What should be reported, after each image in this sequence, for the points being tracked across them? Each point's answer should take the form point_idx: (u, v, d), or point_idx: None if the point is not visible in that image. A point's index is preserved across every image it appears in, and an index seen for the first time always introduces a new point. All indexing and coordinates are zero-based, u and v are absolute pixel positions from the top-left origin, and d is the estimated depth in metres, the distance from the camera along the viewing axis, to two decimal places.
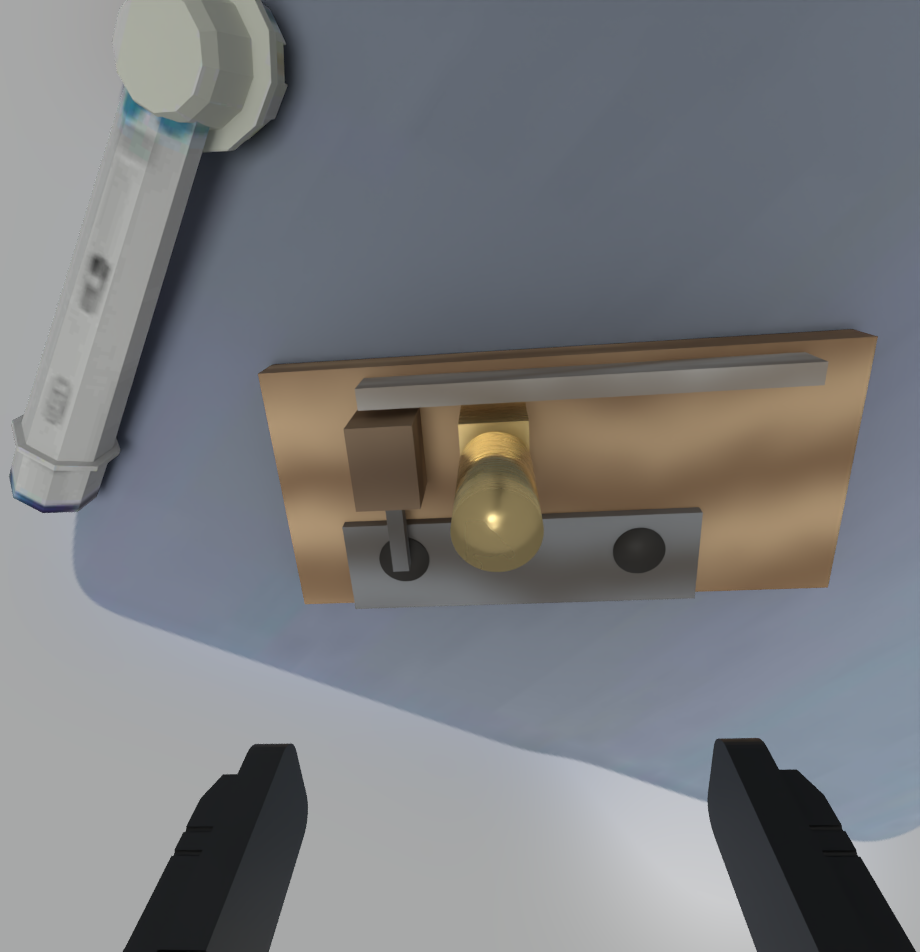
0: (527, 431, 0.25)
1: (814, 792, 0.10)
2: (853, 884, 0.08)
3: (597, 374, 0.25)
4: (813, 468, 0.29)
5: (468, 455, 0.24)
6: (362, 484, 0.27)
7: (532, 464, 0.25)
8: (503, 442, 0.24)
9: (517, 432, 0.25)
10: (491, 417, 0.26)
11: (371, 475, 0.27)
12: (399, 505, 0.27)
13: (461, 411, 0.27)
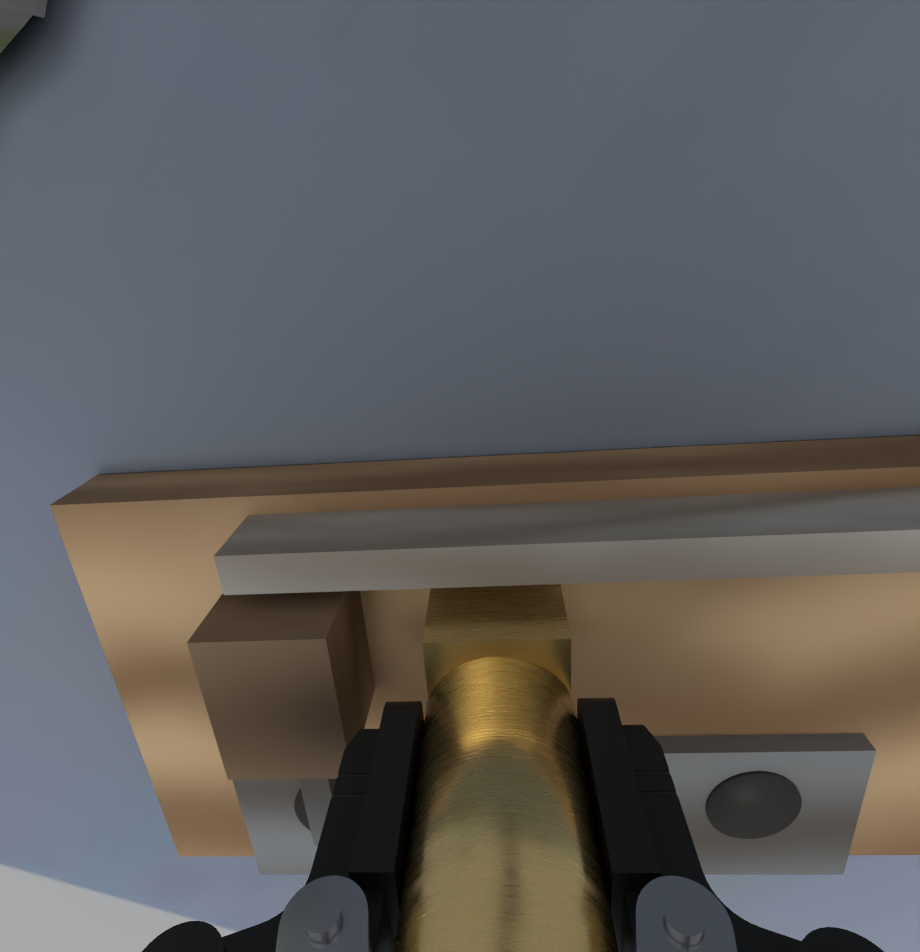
0: (567, 658, 0.12)
1: (653, 743, 0.11)
2: (664, 817, 0.10)
3: (710, 535, 0.12)
4: None
5: (441, 736, 0.11)
6: (235, 736, 0.14)
7: None
8: (518, 702, 0.11)
9: (546, 659, 0.12)
10: (491, 618, 0.13)
11: (250, 722, 0.13)
12: (310, 771, 0.14)
13: (433, 589, 0.14)
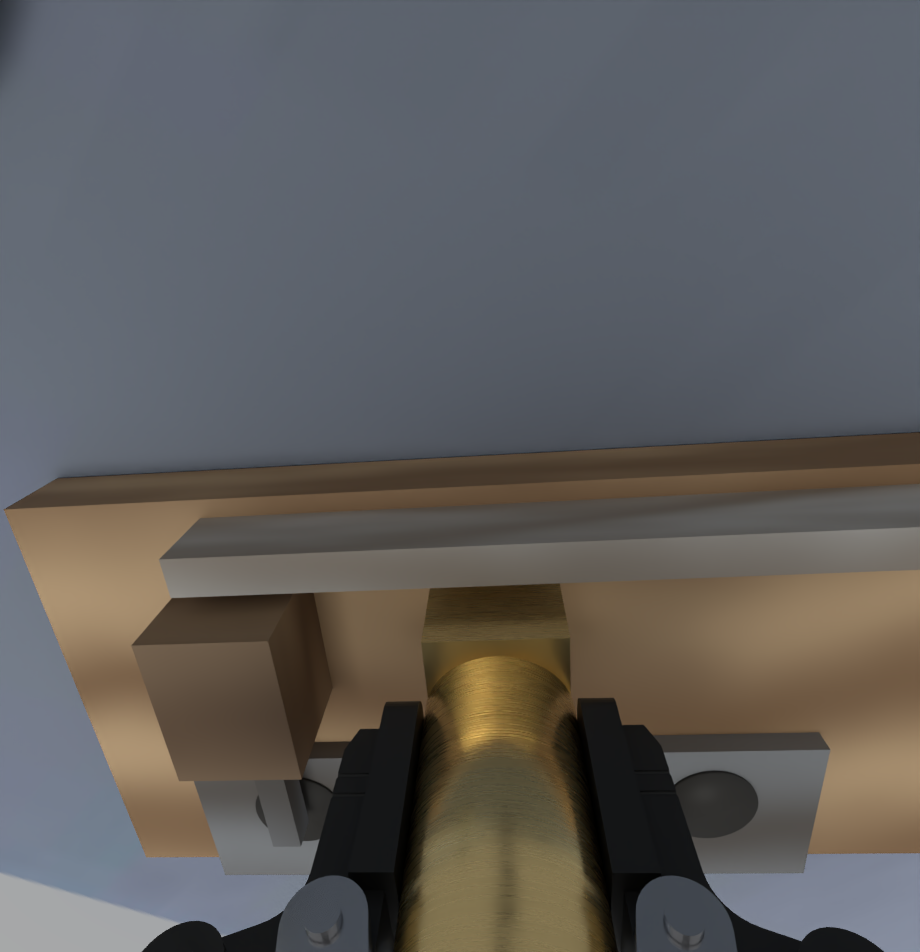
0: (567, 657, 0.12)
1: (653, 743, 0.11)
2: (664, 817, 0.10)
3: (648, 536, 0.12)
4: None
5: (440, 736, 0.11)
6: (184, 738, 0.14)
7: (578, 731, 0.12)
8: (517, 702, 0.11)
9: (546, 658, 0.12)
10: (490, 618, 0.13)
11: (199, 724, 0.13)
12: (260, 773, 0.14)
13: (432, 589, 0.14)
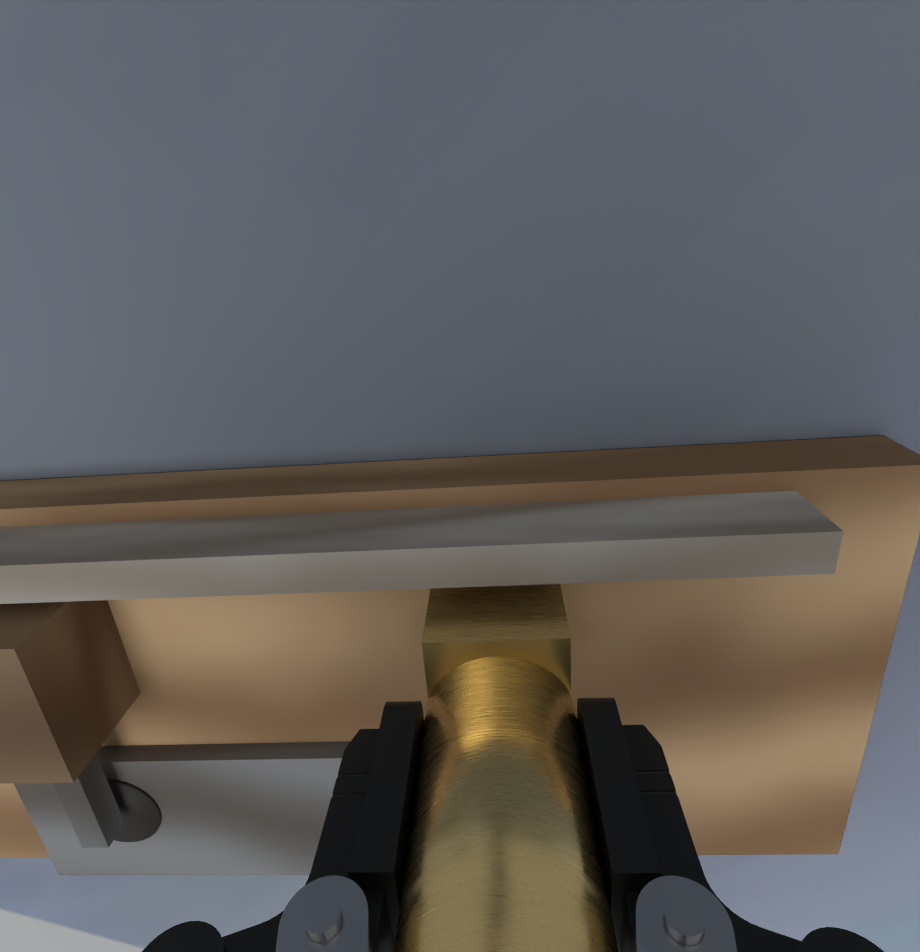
0: (567, 657, 0.12)
1: (653, 743, 0.11)
2: (665, 817, 0.10)
3: (380, 547, 0.13)
4: (812, 682, 0.16)
5: (440, 736, 0.11)
6: None
7: None
8: (518, 702, 0.11)
9: (546, 659, 0.12)
10: (491, 618, 0.13)
11: None
12: (33, 776, 0.14)
13: (433, 589, 0.14)
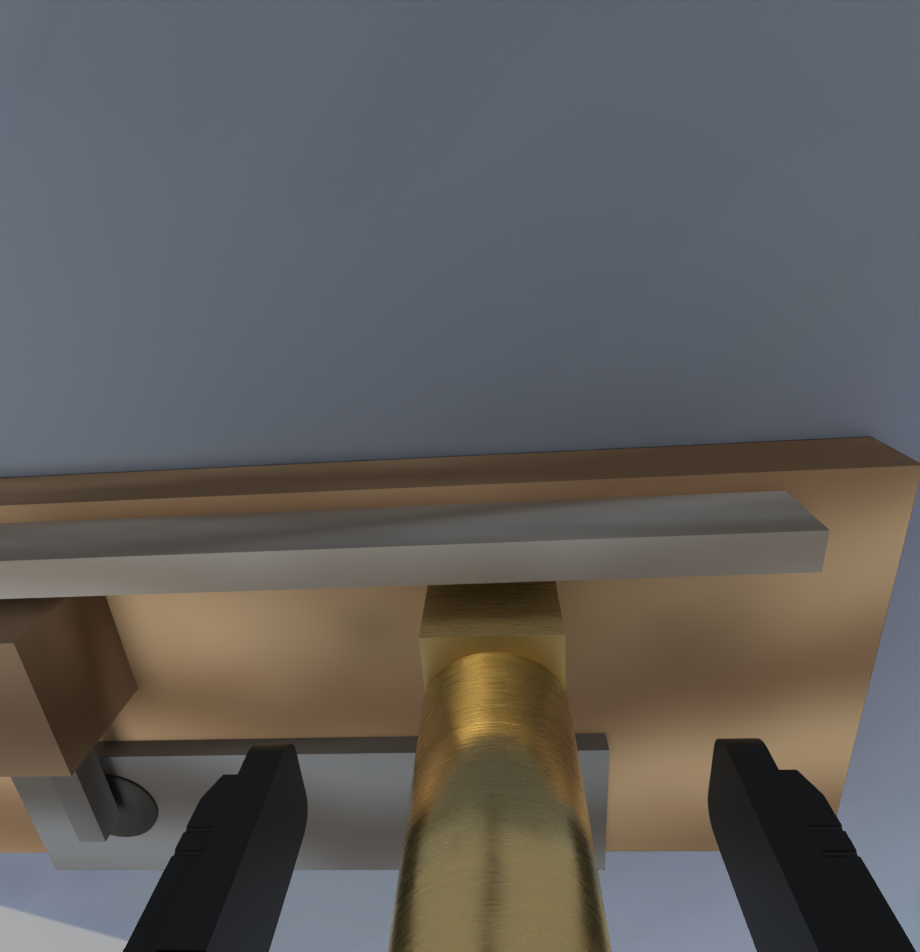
0: (562, 653, 0.12)
1: (814, 792, 0.10)
2: (852, 883, 0.08)
3: (376, 545, 0.13)
4: (801, 680, 0.16)
5: (437, 729, 0.11)
6: None
7: (573, 726, 0.12)
8: (513, 696, 0.11)
9: (541, 654, 0.12)
10: (487, 614, 0.13)
11: None
12: (31, 769, 0.15)
13: (430, 586, 0.14)
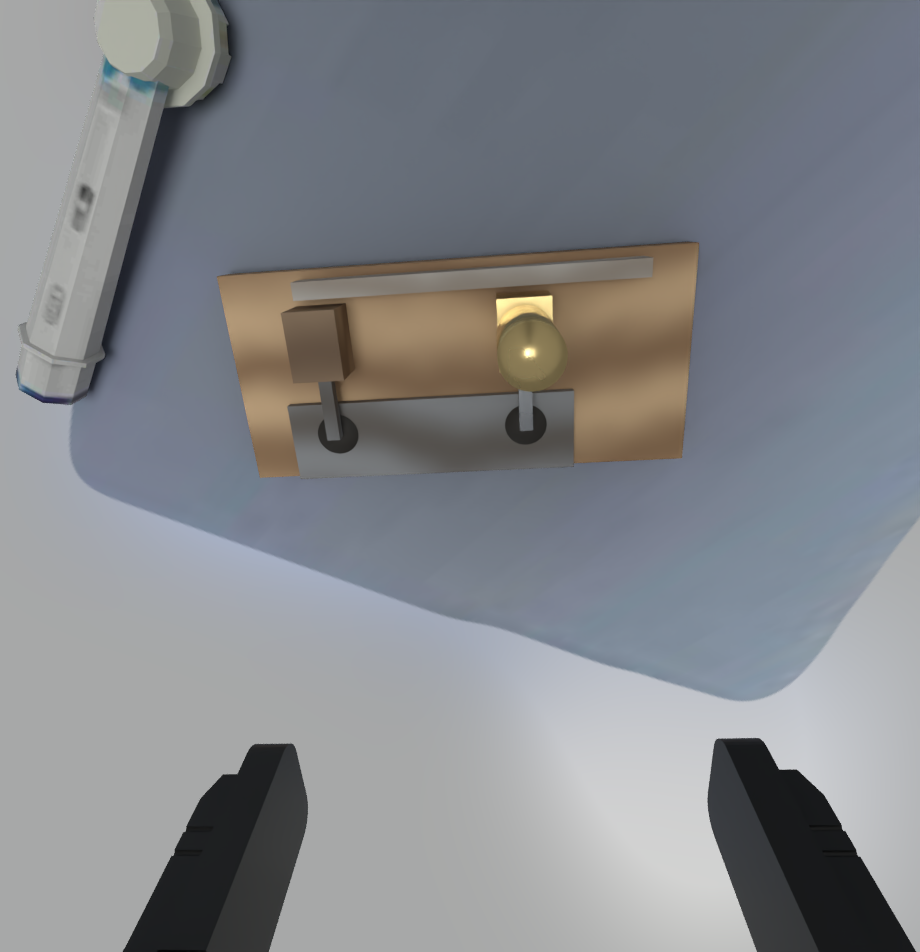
0: (551, 304, 0.32)
1: (814, 792, 0.10)
2: (852, 884, 0.08)
3: (477, 269, 0.33)
4: (660, 354, 0.36)
5: (506, 318, 0.31)
6: (297, 359, 0.34)
7: None
8: (533, 308, 0.31)
9: (543, 305, 0.32)
10: (521, 296, 0.33)
11: (303, 352, 0.34)
12: (327, 377, 0.34)
13: (497, 295, 0.34)
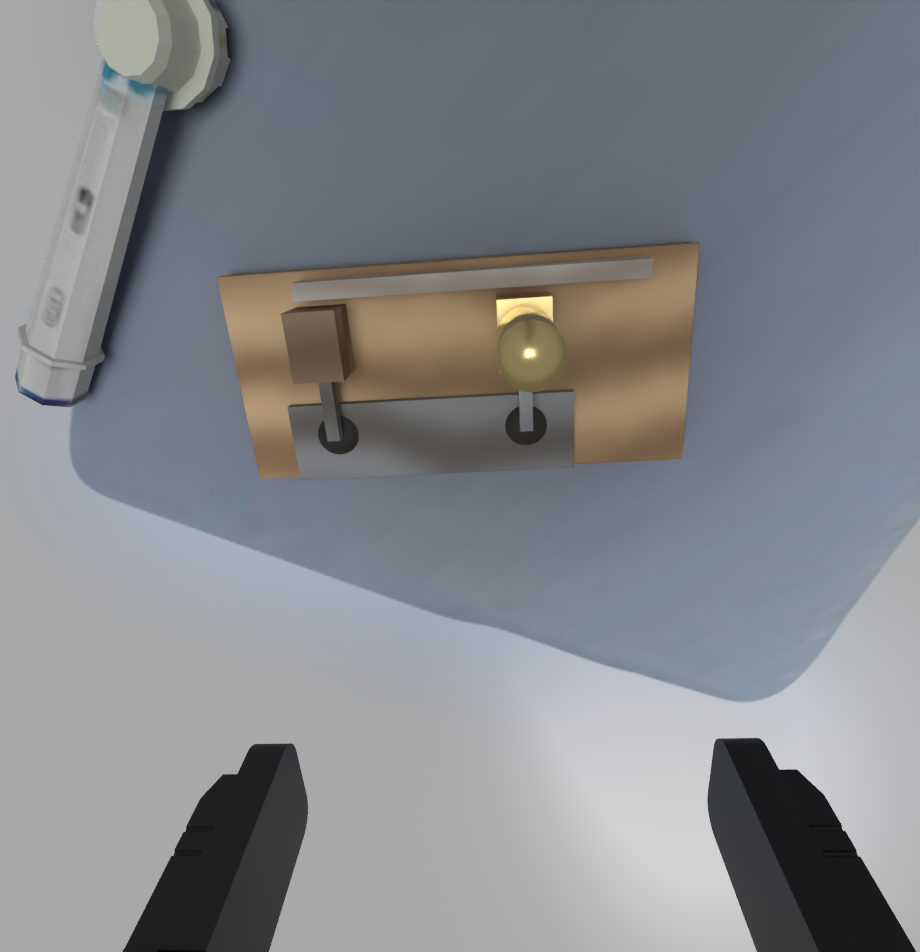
0: (551, 305, 0.32)
1: (814, 792, 0.10)
2: (853, 883, 0.08)
3: (477, 270, 0.33)
4: (660, 355, 0.36)
5: (506, 318, 0.31)
6: (297, 360, 0.34)
7: None
8: (533, 309, 0.31)
9: (543, 306, 0.32)
10: (522, 296, 0.33)
11: (304, 352, 0.34)
12: (327, 378, 0.34)
13: (497, 296, 0.34)
